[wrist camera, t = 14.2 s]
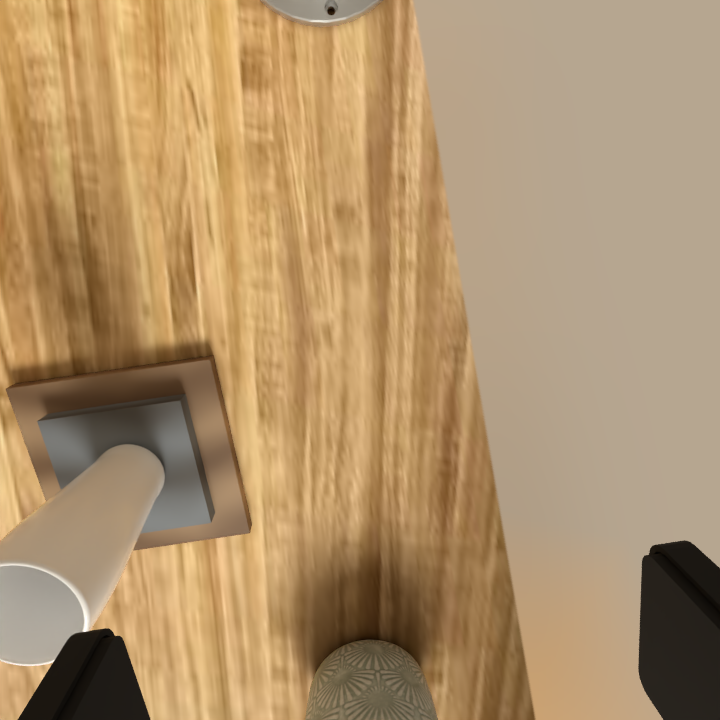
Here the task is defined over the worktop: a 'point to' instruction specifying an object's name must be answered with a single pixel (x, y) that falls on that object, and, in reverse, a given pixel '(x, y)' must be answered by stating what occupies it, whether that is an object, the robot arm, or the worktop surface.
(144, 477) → the drinking glass
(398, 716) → the planter
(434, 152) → the worktop surface
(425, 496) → the worktop surface
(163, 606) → the worktop surface
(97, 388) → the base
